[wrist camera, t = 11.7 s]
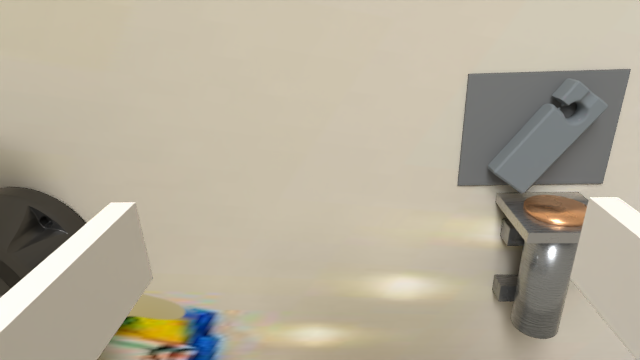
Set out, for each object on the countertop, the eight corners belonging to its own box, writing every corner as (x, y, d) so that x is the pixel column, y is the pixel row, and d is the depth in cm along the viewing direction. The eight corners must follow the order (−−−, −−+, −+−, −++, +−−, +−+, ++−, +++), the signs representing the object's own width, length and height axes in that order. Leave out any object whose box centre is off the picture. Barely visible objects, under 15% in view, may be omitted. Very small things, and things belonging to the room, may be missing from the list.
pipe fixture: (482, 296, 48) (507, 350, 40) (497, 189, 42) (529, 228, 35) (554, 296, 47) (593, 351, 40) (579, 188, 42) (629, 228, 34)
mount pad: (457, 184, 42) (458, 185, 42) (468, 73, 38) (469, 74, 38) (601, 182, 41) (602, 183, 41) (629, 69, 37) (630, 69, 37)
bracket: (485, 165, 41) (492, 173, 39) (566, 76, 37) (579, 79, 35) (514, 187, 41) (523, 195, 40) (597, 101, 38) (611, 106, 36)
